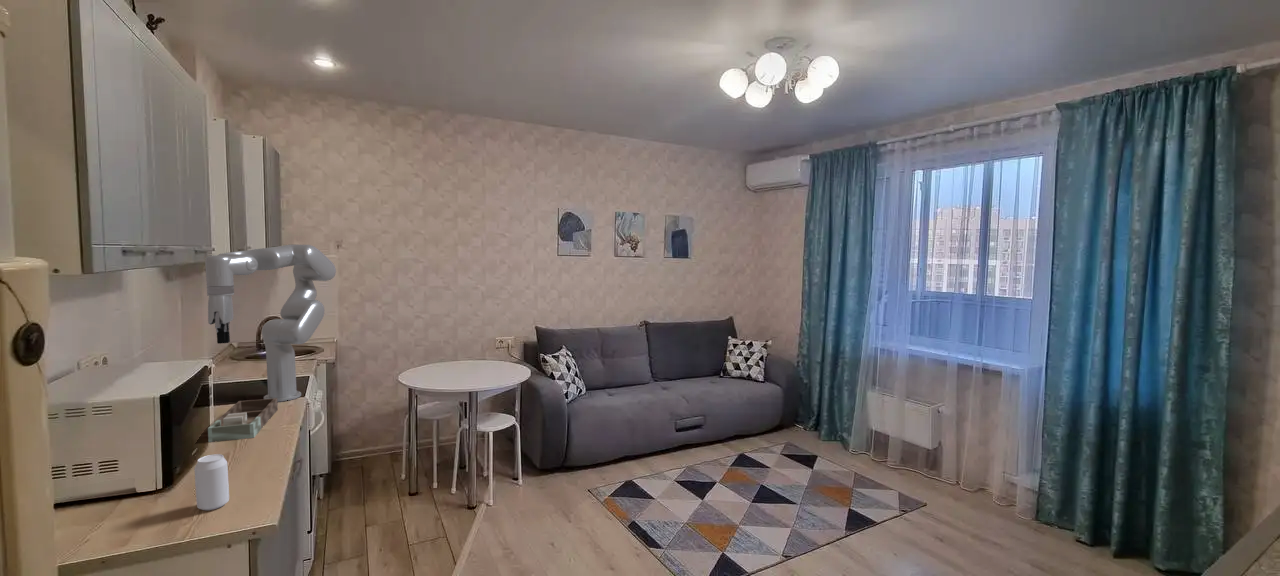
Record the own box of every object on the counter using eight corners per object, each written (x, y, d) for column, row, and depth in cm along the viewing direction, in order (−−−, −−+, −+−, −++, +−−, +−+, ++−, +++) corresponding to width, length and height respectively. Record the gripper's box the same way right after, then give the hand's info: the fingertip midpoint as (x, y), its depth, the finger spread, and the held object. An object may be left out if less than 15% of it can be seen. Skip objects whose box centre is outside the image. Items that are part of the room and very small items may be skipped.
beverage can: (222, 497, 136) (219, 451, 135) (234, 504, 133) (231, 456, 132) (192, 508, 131) (189, 459, 130) (204, 515, 128) (201, 465, 126)
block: (229, 425, 179) (228, 413, 179) (247, 424, 181) (246, 412, 181) (223, 430, 175) (223, 418, 174) (242, 429, 176) (241, 417, 176)
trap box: (239, 413, 199) (238, 401, 199) (277, 409, 204) (277, 398, 203) (208, 442, 172) (207, 428, 171) (254, 437, 176) (253, 424, 175)
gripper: (215, 289, 195) (218, 339, 197) (199, 293, 182) (202, 347, 183) (240, 288, 198) (243, 338, 200) (226, 292, 184) (229, 346, 186)
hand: (223, 342), depth 192 cm, fingers closed
